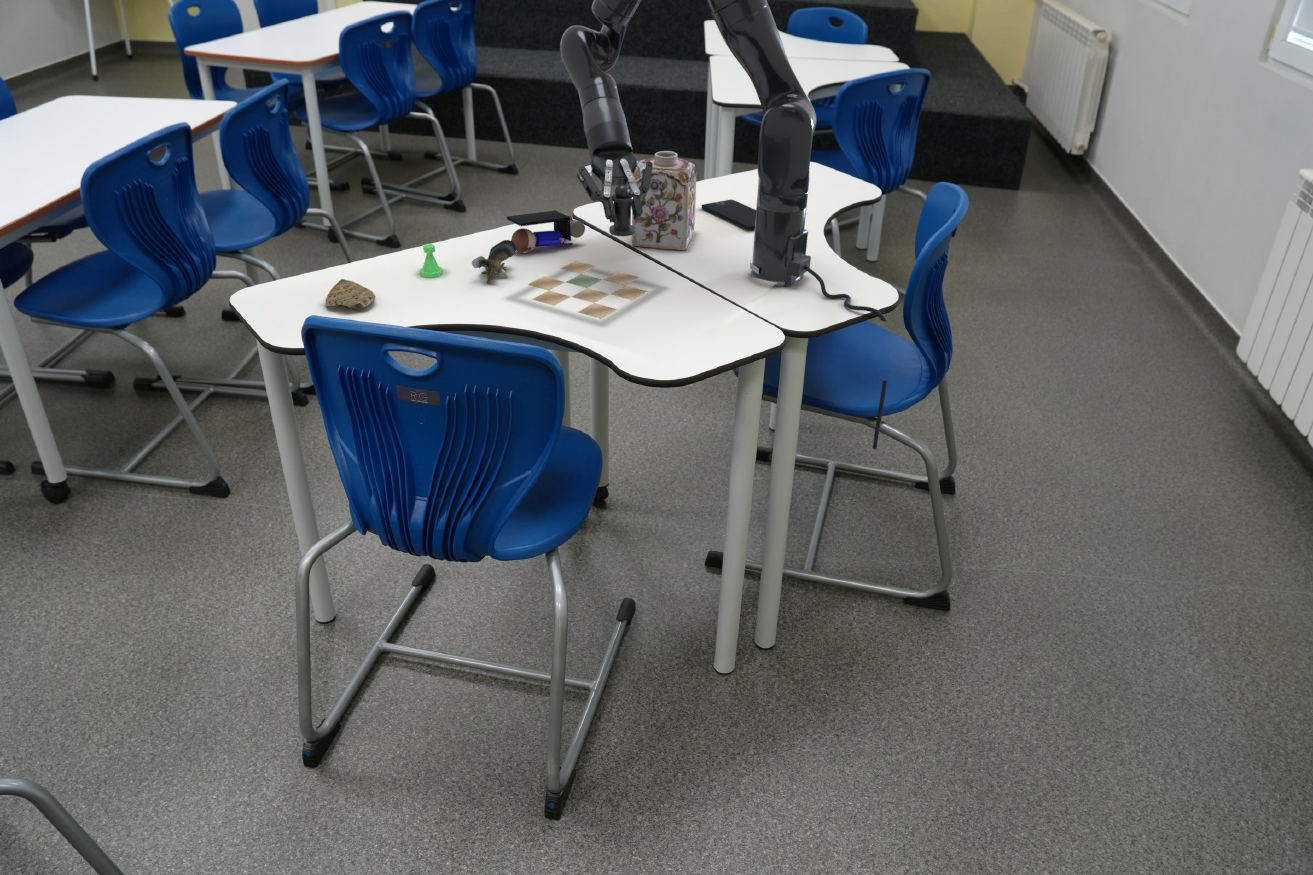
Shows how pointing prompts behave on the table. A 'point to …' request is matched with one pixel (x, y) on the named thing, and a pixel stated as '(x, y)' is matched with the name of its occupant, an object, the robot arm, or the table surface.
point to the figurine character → (562, 229)
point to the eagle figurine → (496, 259)
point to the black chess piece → (622, 212)
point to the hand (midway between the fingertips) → (625, 219)
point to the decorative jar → (667, 204)
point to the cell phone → (733, 213)
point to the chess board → (588, 293)
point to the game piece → (430, 263)
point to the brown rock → (349, 295)
